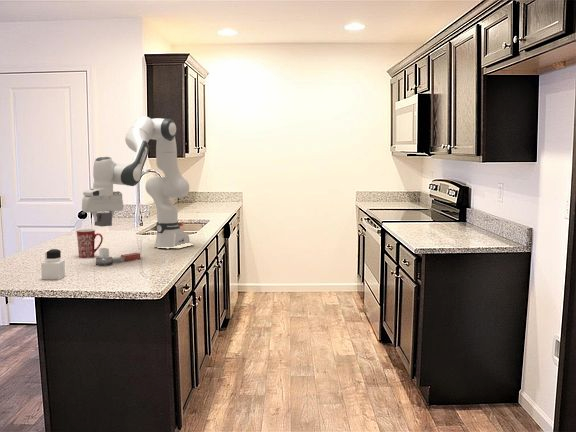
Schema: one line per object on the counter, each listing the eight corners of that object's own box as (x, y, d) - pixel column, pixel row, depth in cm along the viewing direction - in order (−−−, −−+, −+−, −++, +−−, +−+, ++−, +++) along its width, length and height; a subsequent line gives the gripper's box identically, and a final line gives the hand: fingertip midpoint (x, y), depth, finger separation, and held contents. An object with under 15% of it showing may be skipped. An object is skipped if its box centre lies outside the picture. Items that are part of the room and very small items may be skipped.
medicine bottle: (65, 276, 239) (64, 248, 237) (58, 279, 231) (58, 251, 230) (48, 275, 238) (47, 248, 237) (41, 279, 231) (40, 251, 230)
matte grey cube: (104, 224, 267) (104, 212, 266) (111, 225, 263) (111, 213, 263) (94, 225, 262) (94, 212, 262) (101, 226, 259) (101, 213, 258)
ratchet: (133, 257, 281) (133, 242, 280) (143, 259, 276) (143, 244, 275) (92, 264, 263) (92, 248, 262) (102, 266, 258) (101, 250, 257)
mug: (74, 258, 276) (73, 231, 274) (80, 254, 285) (79, 228, 283) (100, 258, 276) (99, 231, 275) (105, 255, 285) (104, 229, 284)
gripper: (118, 190, 271) (118, 219, 273) (79, 191, 255) (80, 221, 257) (126, 191, 267) (126, 220, 269) (87, 192, 251) (87, 223, 253)
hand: (103, 221), depth 263 cm, fingers closed on matte grey cube, 6 cm apart
